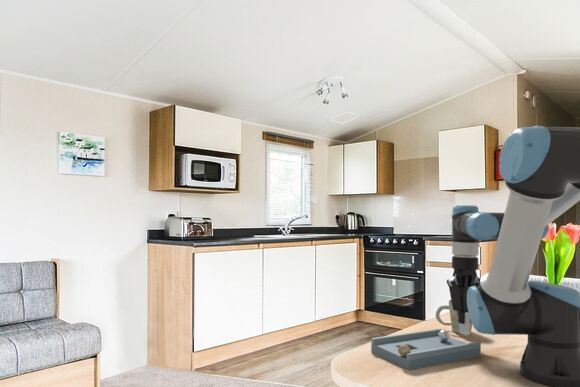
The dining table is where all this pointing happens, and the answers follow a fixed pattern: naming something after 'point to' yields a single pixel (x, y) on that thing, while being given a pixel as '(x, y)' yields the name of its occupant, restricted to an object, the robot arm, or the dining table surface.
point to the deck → (424, 349)
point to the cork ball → (404, 350)
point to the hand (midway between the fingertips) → (464, 333)
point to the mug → (453, 317)
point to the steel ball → (443, 335)
